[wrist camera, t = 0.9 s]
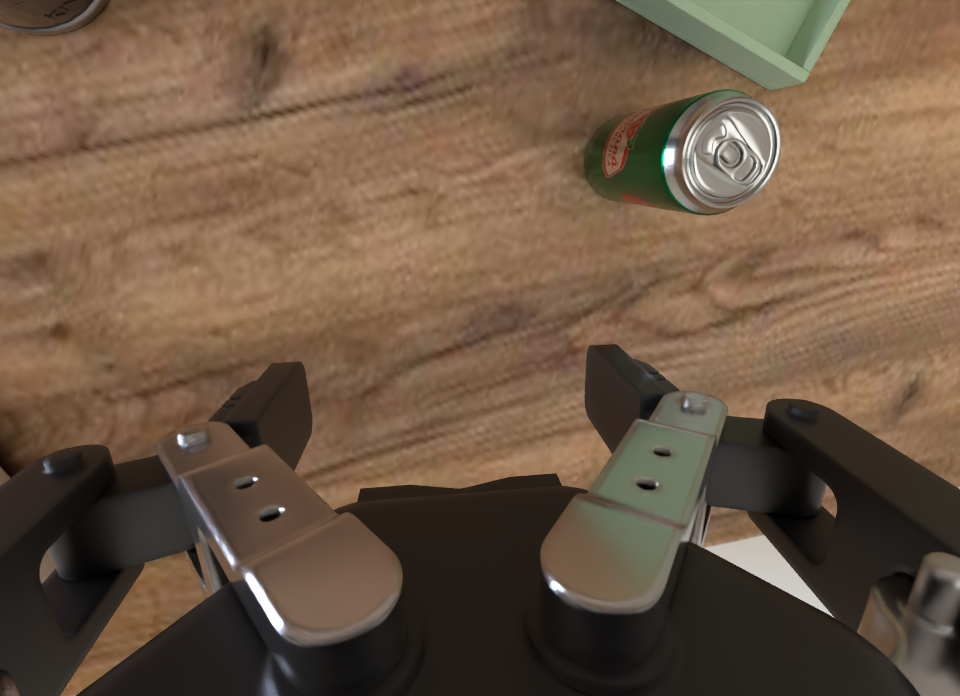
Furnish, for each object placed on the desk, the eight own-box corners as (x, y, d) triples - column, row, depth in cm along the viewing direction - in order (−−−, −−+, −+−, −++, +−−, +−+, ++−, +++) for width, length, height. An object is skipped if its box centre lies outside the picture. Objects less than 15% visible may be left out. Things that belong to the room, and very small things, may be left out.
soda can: (616, 98, 30) (734, 55, 19) (673, 149, 31) (815, 138, 20) (566, 169, 31) (648, 170, 20) (623, 216, 32) (730, 241, 21)
